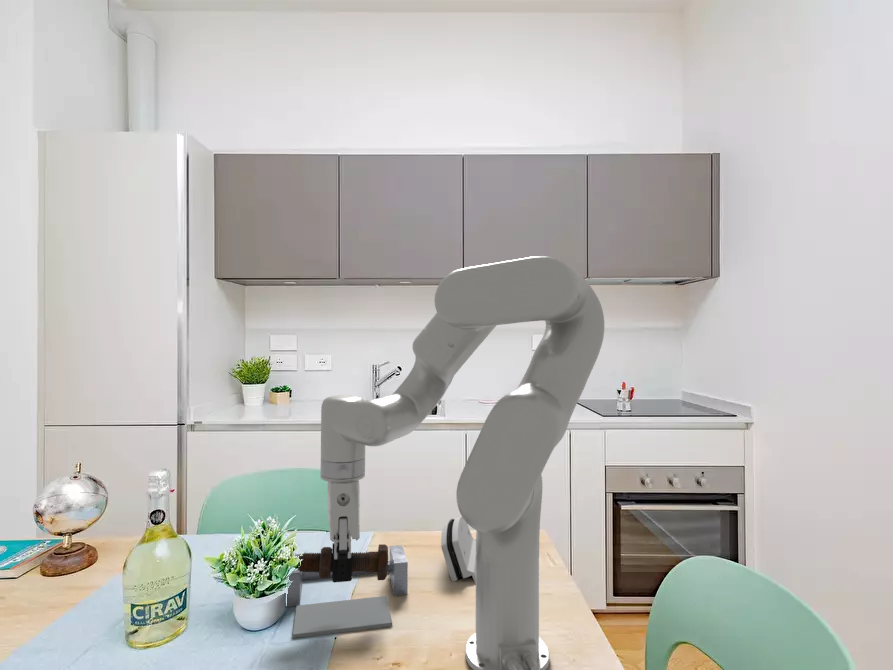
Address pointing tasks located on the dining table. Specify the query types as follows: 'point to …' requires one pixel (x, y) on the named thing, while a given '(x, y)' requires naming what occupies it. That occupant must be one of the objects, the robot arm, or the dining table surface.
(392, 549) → the vise
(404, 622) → the dining table surface
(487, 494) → the robot arm
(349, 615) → the mat
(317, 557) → the bolt
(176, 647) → the dining table surface
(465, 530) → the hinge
